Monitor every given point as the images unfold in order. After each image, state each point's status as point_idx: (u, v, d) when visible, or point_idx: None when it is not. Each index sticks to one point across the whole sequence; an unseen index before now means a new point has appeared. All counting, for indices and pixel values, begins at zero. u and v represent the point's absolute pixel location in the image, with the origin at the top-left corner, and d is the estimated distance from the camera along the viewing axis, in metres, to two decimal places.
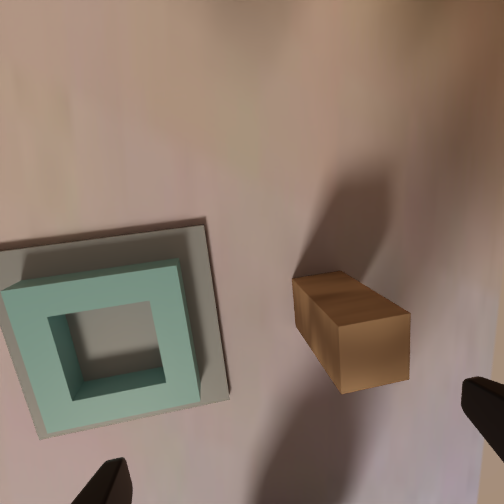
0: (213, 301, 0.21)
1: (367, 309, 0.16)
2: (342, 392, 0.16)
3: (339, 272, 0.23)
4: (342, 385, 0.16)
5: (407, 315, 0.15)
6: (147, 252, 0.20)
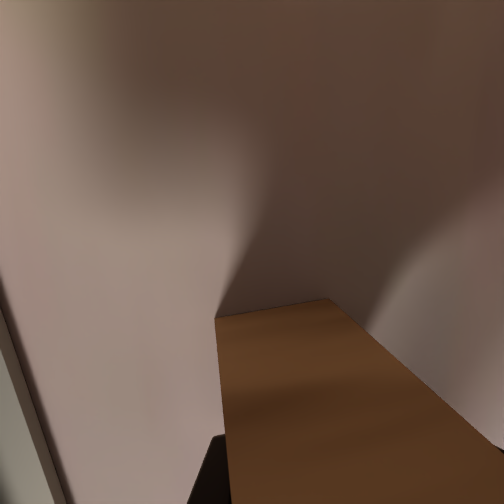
0: (7, 381, 0.09)
1: None
2: None
3: (325, 303, 0.10)
4: None
5: None
6: None
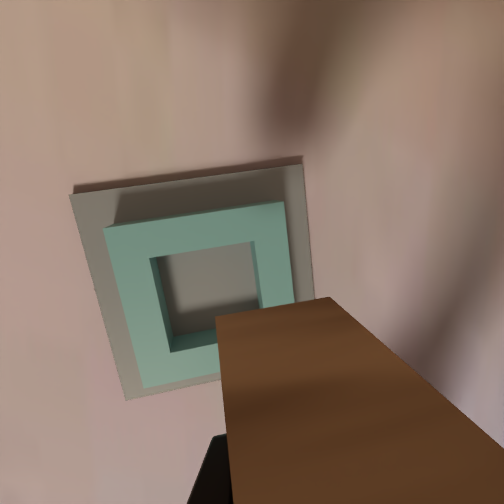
0: (308, 248, 0.20)
1: None
2: None
3: (325, 301, 0.10)
4: None
5: None
6: (243, 193, 0.18)
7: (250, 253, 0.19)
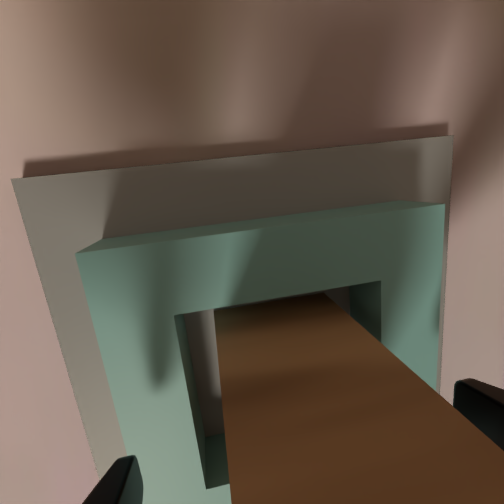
0: (442, 287, 0.11)
1: (404, 489, 0.04)
2: None
3: (319, 297, 0.10)
4: None
5: None
6: (346, 187, 0.10)
7: (347, 294, 0.11)
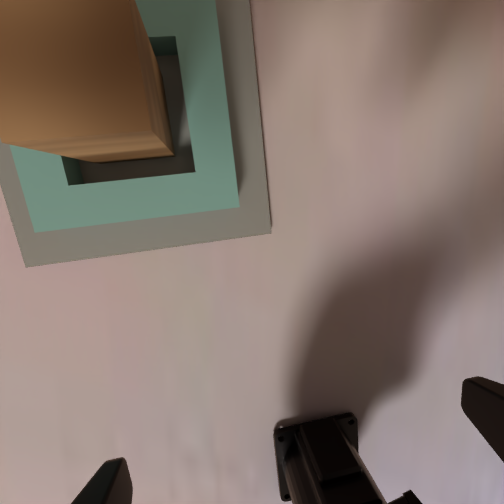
0: (255, 83, 0.16)
1: None
2: (2, 138, 0.08)
3: None
4: None
5: None
6: None
7: (181, 80, 0.16)
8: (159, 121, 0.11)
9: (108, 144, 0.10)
